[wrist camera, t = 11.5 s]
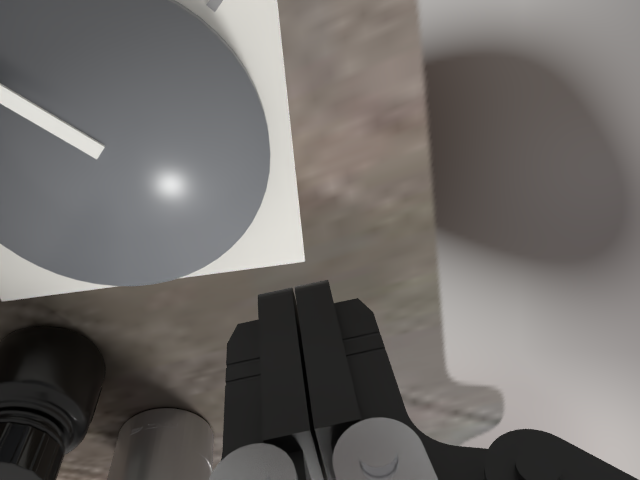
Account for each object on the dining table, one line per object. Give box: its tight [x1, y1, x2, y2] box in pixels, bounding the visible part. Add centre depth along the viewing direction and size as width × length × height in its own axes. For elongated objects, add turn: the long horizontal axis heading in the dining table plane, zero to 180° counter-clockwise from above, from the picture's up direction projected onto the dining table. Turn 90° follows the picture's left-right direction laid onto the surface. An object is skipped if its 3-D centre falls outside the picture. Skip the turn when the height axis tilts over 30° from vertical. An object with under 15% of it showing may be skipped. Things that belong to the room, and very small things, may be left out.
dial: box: [0, 0, 270, 286], centre depth 29 cm, size 20×20×9 cm
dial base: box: [0, 0, 305, 301], centre depth 34 cm, size 22×23×2 cm
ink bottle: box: [0, 326, 105, 480], centre depth 39 cm, size 10×9×12 cm
